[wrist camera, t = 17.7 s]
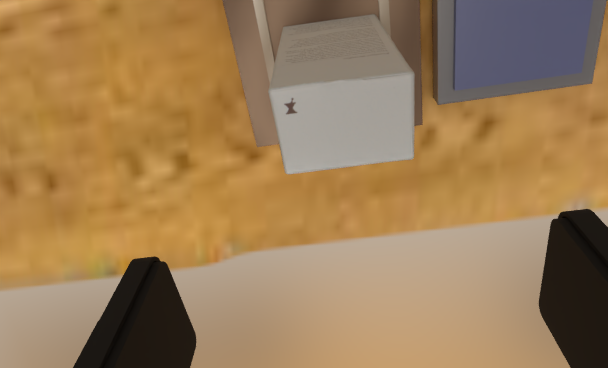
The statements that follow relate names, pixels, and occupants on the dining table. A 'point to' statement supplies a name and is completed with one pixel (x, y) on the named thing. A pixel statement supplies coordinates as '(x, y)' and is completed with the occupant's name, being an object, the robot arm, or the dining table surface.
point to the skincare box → (341, 96)
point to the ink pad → (512, 46)
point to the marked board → (301, 10)
